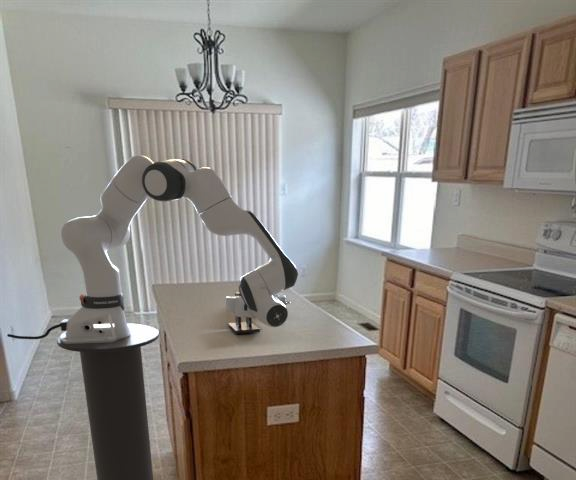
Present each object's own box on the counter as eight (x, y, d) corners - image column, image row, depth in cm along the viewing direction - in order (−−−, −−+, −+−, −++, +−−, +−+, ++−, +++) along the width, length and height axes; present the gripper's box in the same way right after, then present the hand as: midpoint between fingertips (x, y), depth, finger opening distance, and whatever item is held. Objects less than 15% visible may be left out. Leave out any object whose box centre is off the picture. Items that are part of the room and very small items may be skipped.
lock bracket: (259, 331, 196) (259, 294, 191) (236, 334, 193) (235, 296, 188) (251, 324, 206) (250, 288, 201) (228, 326, 203) (227, 290, 198)
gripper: (291, 293, 176) (278, 286, 188) (231, 297, 169) (221, 289, 181) (291, 312, 178) (278, 303, 190) (232, 317, 172) (222, 308, 184)
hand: (250, 297), depth 186 cm, fingers closed on latch lever, 3 cm apart
